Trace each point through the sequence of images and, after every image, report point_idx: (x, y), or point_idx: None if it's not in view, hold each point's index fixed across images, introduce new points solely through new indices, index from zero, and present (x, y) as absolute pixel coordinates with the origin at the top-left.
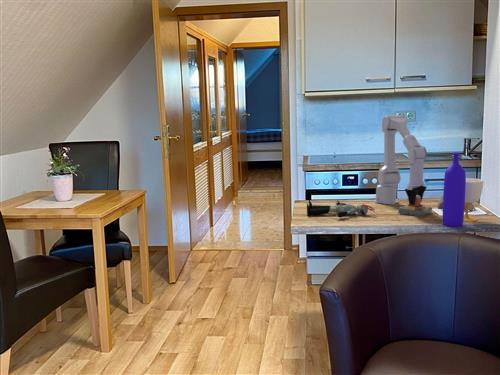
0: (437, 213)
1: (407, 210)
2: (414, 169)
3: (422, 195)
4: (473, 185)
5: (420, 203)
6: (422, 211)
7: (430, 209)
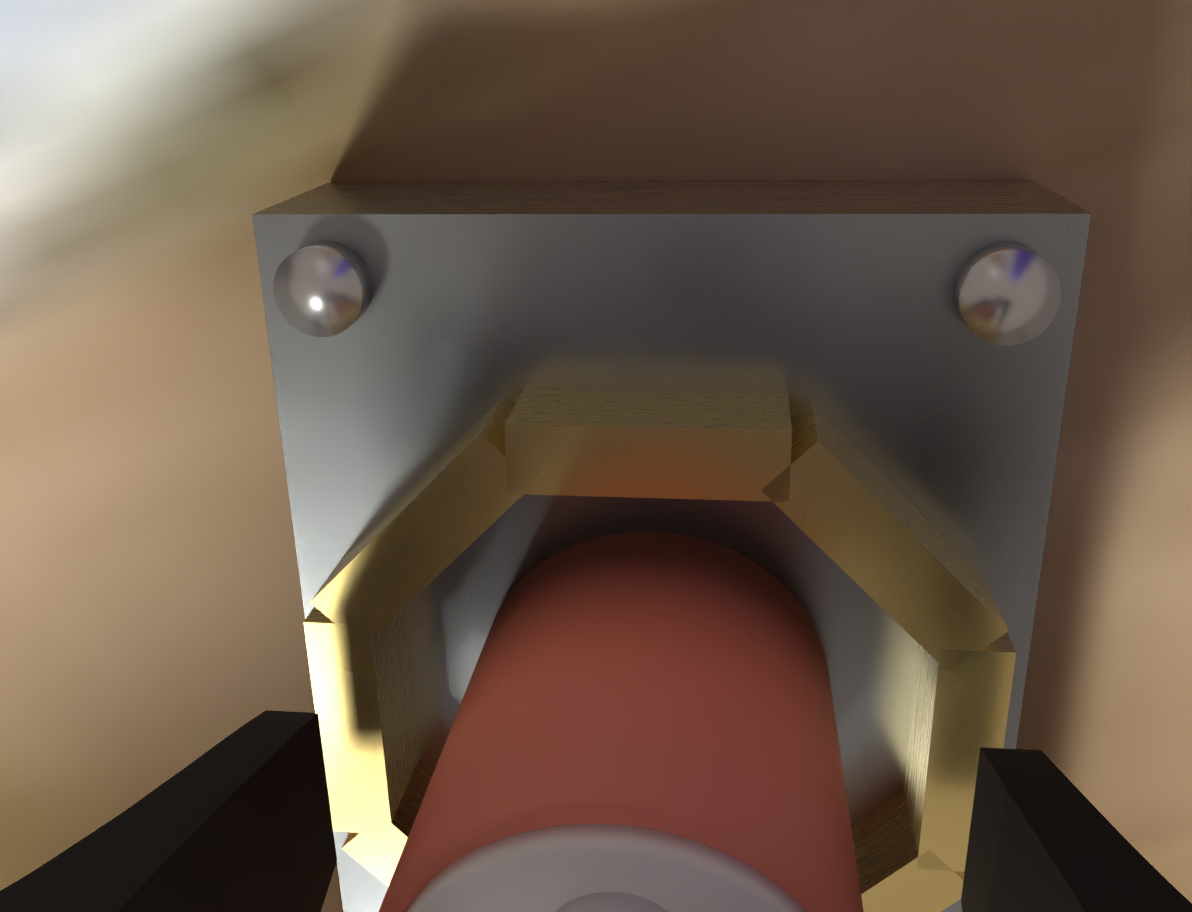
0: (230, 6)
1: None
2: None
3: (124, 867)
4: None
5: (602, 629)
6: (1073, 291)
7: (419, 208)
